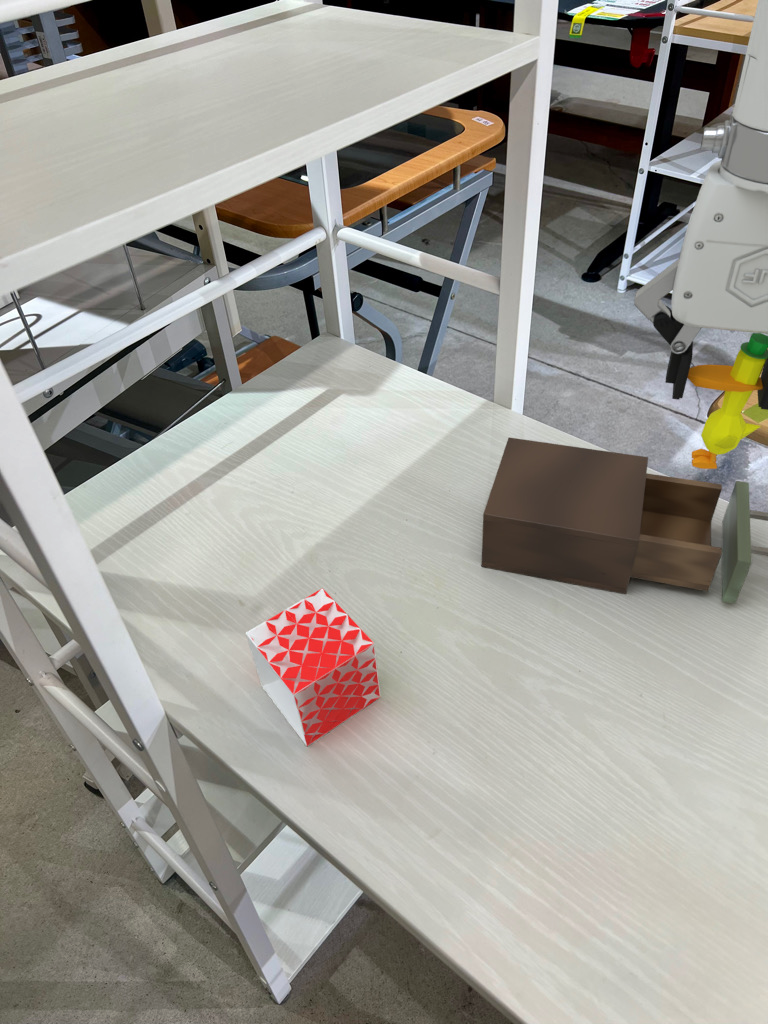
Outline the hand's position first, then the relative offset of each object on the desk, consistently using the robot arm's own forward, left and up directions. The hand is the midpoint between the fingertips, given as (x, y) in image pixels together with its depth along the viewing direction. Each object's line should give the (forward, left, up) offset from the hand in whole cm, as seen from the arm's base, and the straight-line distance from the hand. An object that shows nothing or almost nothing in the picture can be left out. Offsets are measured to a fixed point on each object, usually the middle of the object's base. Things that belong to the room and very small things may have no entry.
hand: (719, 392), depth 58 cm
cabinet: (+11, -5, -23) cm, 26 cm away
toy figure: (0, 0, -7) cm, 7 cm away
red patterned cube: (+29, +20, -23) cm, 42 cm away
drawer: (-2, -5, -22) cm, 23 cm away
